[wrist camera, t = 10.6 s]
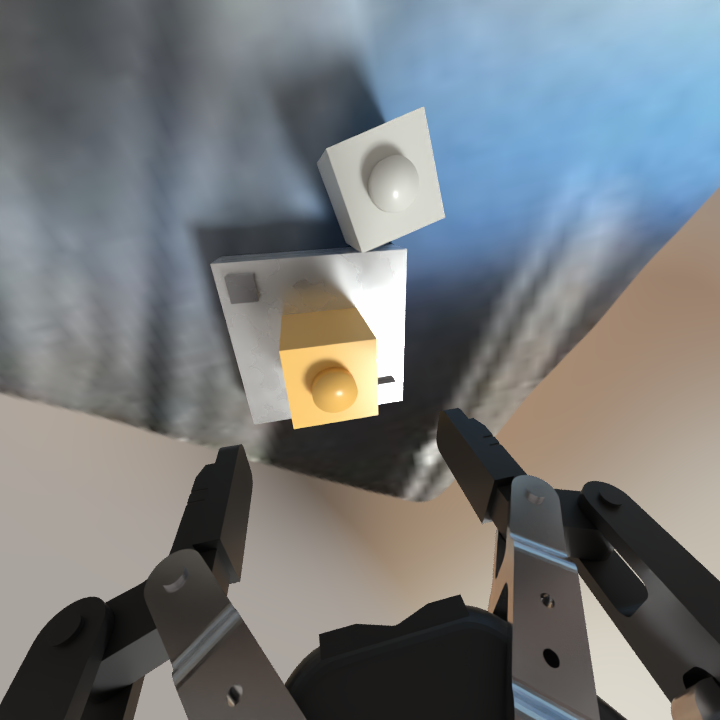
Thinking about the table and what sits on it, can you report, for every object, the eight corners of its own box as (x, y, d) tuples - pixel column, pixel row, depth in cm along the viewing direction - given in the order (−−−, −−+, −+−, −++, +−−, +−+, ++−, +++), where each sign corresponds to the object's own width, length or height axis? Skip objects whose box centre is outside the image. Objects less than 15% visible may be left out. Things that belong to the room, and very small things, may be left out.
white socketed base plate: (220, 256, 20) (189, 278, 13) (392, 243, 21) (433, 258, 15) (257, 402, 25) (247, 464, 19) (391, 381, 27) (420, 431, 21)
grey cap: (316, 163, 18) (328, 145, 13) (389, 132, 18) (431, 101, 13) (345, 242, 21) (365, 255, 15) (409, 215, 21) (452, 217, 15)
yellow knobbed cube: (281, 315, 19) (278, 358, 14) (356, 307, 20) (381, 345, 15) (293, 379, 22) (294, 438, 16) (359, 370, 22) (381, 423, 17)
